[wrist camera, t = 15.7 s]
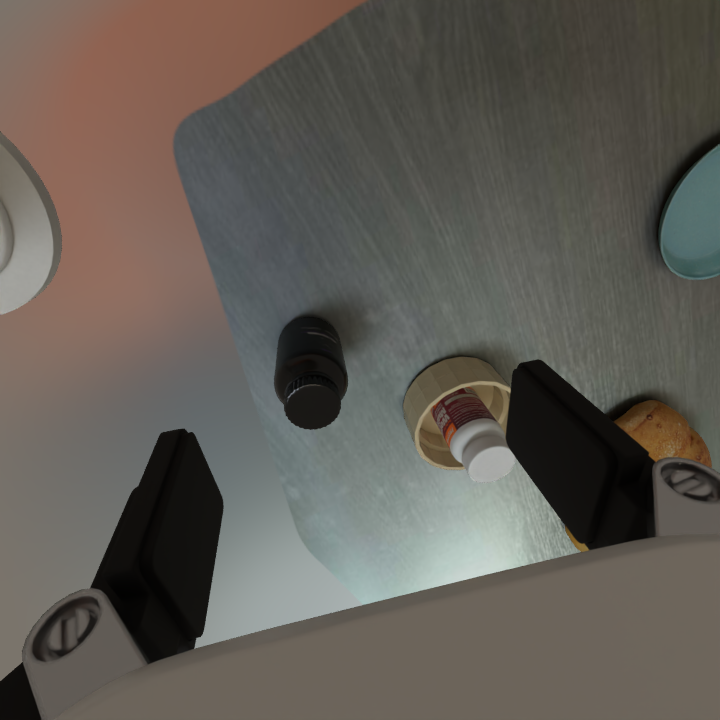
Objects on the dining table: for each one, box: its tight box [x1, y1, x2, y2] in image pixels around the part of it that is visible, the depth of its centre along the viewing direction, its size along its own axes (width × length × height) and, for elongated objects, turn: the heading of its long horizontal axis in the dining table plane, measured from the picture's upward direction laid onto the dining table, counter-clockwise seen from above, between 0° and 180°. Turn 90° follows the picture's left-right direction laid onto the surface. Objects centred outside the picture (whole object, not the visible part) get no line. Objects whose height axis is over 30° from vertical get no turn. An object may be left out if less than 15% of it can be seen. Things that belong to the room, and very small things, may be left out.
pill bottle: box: [430, 386, 515, 483], centre depth 44 cm, size 6×6×11 cm
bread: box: [565, 400, 712, 552], centre depth 58 cm, size 32×20×10 cm, turn 10°
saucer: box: [658, 144, 720, 280], centre depth 41 cm, size 15×15×3 cm
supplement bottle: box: [274, 317, 348, 430], centre depth 37 cm, size 7×7×12 cm
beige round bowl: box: [403, 357, 511, 470], centre depth 47 cm, size 13×13×6 cm
